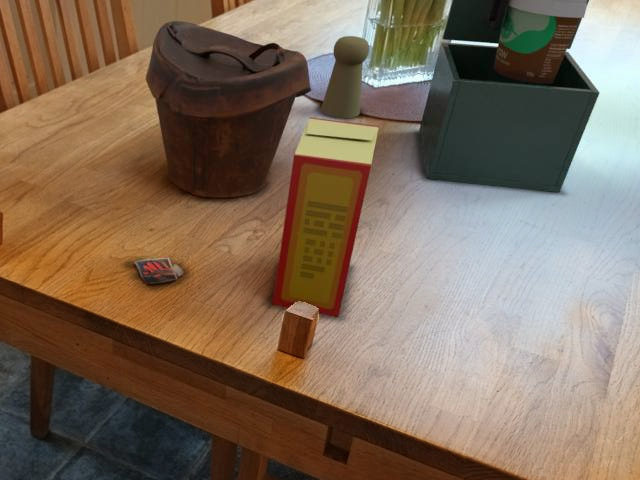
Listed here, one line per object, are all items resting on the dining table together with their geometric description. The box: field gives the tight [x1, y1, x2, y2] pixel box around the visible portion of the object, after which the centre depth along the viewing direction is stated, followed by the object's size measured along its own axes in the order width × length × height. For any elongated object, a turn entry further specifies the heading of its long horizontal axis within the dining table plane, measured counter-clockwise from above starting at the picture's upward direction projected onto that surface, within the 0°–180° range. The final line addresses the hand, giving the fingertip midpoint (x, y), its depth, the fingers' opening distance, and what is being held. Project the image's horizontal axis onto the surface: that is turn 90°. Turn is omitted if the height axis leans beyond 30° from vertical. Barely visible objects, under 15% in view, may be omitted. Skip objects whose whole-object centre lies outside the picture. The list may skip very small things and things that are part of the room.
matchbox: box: [131, 256, 184, 287], centre depth 76 cm, size 5×5×1 cm
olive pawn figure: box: [320, 35, 370, 119], centre depth 110 cm, size 6×6×11 cm
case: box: [145, 20, 312, 199], centre depth 88 cm, size 18×20×18 cm
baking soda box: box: [272, 116, 380, 318], centre depth 69 cm, size 10×6×16 cm
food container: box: [493, 0, 588, 83], centre depth 89 cm, size 12×6×10 cm, turn 6°
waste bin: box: [418, 41, 600, 193], centre depth 96 cm, size 17×17×13 cm
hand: (526, 28), depth 89 cm, fingers closed on food container, 7 cm apart
